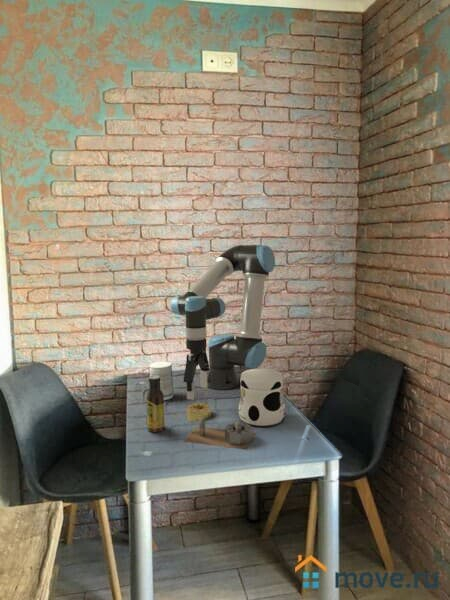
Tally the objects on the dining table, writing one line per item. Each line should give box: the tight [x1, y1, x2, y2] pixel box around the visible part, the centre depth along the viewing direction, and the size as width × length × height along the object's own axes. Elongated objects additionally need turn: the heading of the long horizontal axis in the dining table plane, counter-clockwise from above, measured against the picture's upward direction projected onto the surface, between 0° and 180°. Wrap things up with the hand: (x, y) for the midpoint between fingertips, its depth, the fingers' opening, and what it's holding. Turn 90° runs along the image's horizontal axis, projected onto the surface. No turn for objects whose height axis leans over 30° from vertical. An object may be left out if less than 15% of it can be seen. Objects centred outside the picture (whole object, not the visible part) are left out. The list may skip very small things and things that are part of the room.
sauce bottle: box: [145, 375, 166, 433], centre depth 163 cm, size 6×6×20 cm
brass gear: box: [185, 402, 212, 423], centre depth 174 cm, size 9×9×4 cm
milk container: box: [238, 367, 286, 428], centre depth 168 cm, size 17×17×18 cm
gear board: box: [183, 417, 257, 450], centre depth 154 cm, size 12×22×7 cm, turn 72°
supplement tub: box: [149, 361, 174, 401], centre depth 195 cm, size 10×10×15 cm
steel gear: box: [224, 422, 254, 446], centre depth 152 cm, size 9×9×4 cm
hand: (197, 393), depth 172 cm, fingers open, 13 cm apart
